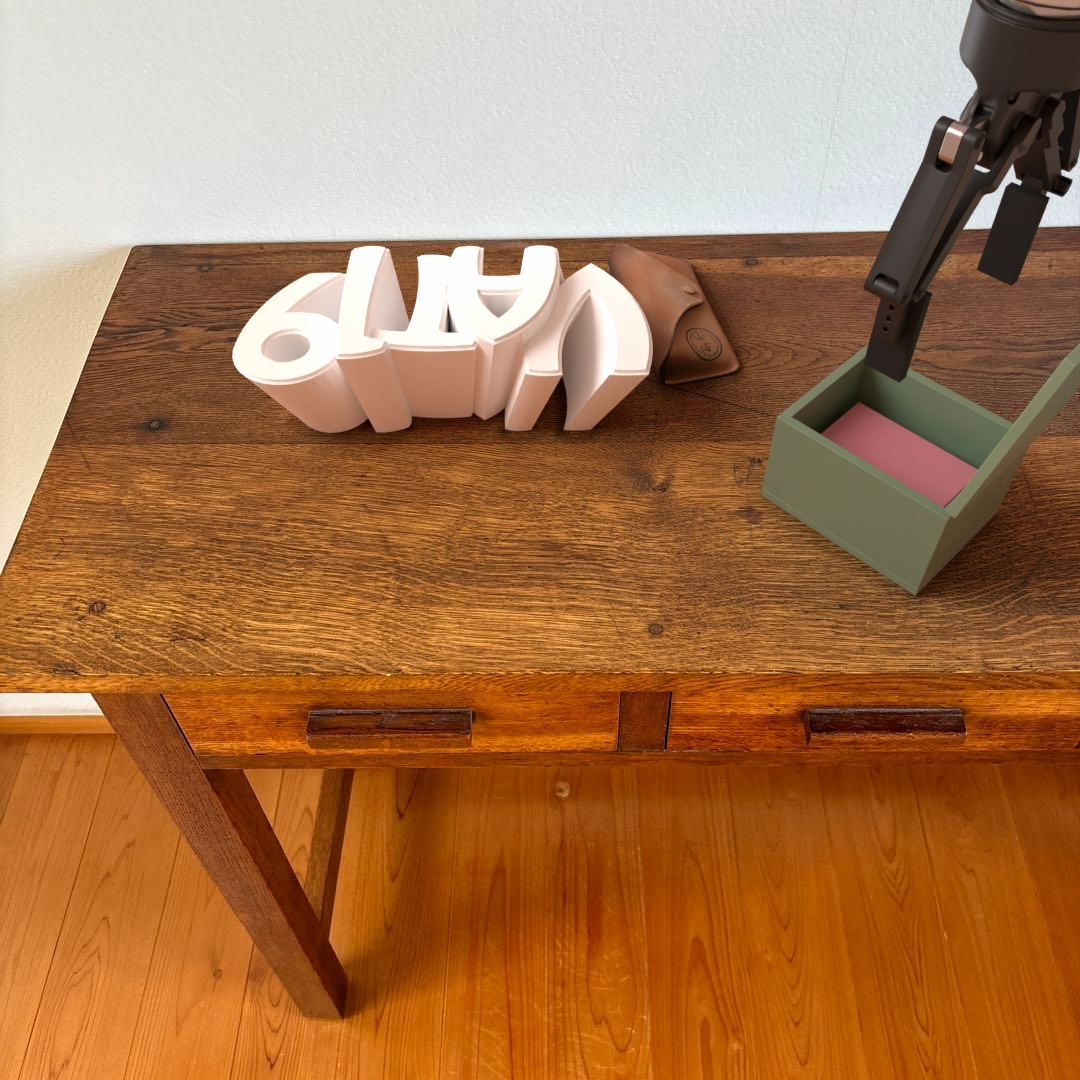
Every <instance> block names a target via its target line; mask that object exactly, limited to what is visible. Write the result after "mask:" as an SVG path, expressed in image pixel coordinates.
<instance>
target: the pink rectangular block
mask: <svg viewBox="0 0 1080 1080" xmlns="http://www.w3.org/2000/svg"><path fill="white" fill-rule="evenodd" d="M821 435H823V436H824V437H826V438H828V439H829V440H831V441H833V442H834V443H836V444H838V445H839V446H841V447H843V448H844V449H846V450H848V451H849V452H851V453H853V454H854V455H856V456H858V457H859V458H861V459H863V460H864V461H866V462H868V463H869V464H871V465H873V466H874V467H876V468H878V469H879V470H881V471H883V472H885V473H886V474H888V475H890V476H891V477H893V478H895V479H896V480H898V481H900V482H901V483H903V484H905V485H906V486H908V487H910V488H911V489H913V490H915V491H916V492H918V493H920V494H921V495H923V496H925V497H926V498H928V499H930V500H931V501H933V502H935V503H936V504H938V505H940V506H941V507H943V508H945V507H946V506H947V505H948V504H949V503H950V502H951V501H952V500H953V499H954V498H955V497H956V496H957V495H958V494H959V493H960V492H961V491H962V490H963V489H964V487H965V486H966V485H967V484H968V482H969V481H970V480H971V478H972V477H973V476H974V475H975V473H976V472H977V471H978V469H976V468H974V467H972V466H971V465H969V464H967V463H965V462H964V461H962V460H960V459H958V458H957V457H955V456H953V455H951V454H949V453H948V452H946V451H944V450H942V449H941V448H939V447H937V446H935V445H934V444H932V443H930V442H928V441H927V440H925V439H923V438H921V437H920V436H918V435H916V434H914V433H913V432H911V431H909V430H907V429H906V428H904V427H902V426H900V425H898V424H897V423H895V422H893V421H891V420H890V419H888V418H886V417H884V416H883V415H881V414H879V413H877V412H876V411H874V410H872V409H870V408H869V407H867V406H865V405H863V404H862V403H860V402H859V403H857V404H856V405H855V406H854V407H853V408H851V409H850V410H849V411H848V412H847V413H845V414H844V415H843V416H842V417H841V418H839V419H838V420H837V421H836V422H835V423H833V424H832V425H831V426H830V427H829V428H827V429H826V430H825V431H824V432H823V433H821Z"/></svg>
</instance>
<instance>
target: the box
mask: <svg viewBox="0 0 1080 1080" xmlns="http://www.w3.org/2000/svg"><path fill="white" fill-rule="evenodd" d="M867 348H868V345H867V344H866V345H864V346H863V347H862V348H861V349H859V350H858V351H857V352H856V353H855V354H854V355H852V356H851V357H850V358H848V359H847V360H846V361H844V362H843V363H842V364H841V365H839V366H838V367H837V368H836V369H835V370H834V371H832V372H831V373H830V374H828V375H827V376H826V377H825V378H824V379H822V380H821V381H820V382H818V383H817V384H816V385H814V387H811V389H810V390H808V391H807V392H806V393H805V394H804V395H802V396H801V397H800V398H798V399H797V400H796V401H795V402H794V403H792V404H791V405H790V406H789V407H787V408H786V409H785V410H783V412H781V413H780V414H779V415H777V416H776V420H775V425H774V429H773V435H772V439H771V444H770V449H769V453H768V460H767V464H766V468H765V473H764V477H763V483H762V486H761V492H760V496H762V497H763V498H765V499H766V500H768V501H769V502H770V503H772V504H774V505H775V506H776V507H778V508H780V509H782V510H783V511H784V512H786V513H788V514H789V515H791V516H792V517H794V518H795V519H796V520H798V521H800V522H801V523H803V524H805V526H807V527H809V528H810V529H812V530H813V531H814V532H817V533H818V534H819V535H821V536H823V537H824V538H826V539H827V540H829V541H831V542H832V543H834V544H835V545H836V546H837V547H840V548H841V549H842V550H843V551H845V552H847V553H849V554H850V555H851V556H853V557H855V558H857V559H858V560H859V561H861V562H863V563H864V564H865V565H867V566H868V567H870V568H872V569H873V570H874V571H876V572H877V573H880V574H881V575H882V576H884V577H885V578H887V579H888V580H890V581H891V582H893V583H895V584H896V585H898V587H901V588H902V589H903V590H905V591H907V592H909V593H910V594H911V595H913V596H917V595H918V594H919V593H920V592H921V591H922V590H923V589H924V588H925V587H926V586H927V585H928V584H929V583H930V582H931V581H932V580H933V579H934V578H935V577H936V575H938V573H939V572H940V571H942V570H943V569H944V568H945V566H946V565H947V564H948V563H950V561H951V560H952V559H954V557H955V556H957V554H958V553H959V552H960V551H961V550H962V549H964V547H965V546H966V545H968V543H969V542H970V541H971V540H972V539H973V538H974V537H975V536H976V535H977V534H978V533H979V532H980V531H981V529H983V528H984V526H986V525H987V524H988V523H989V521H991V519H993V517H994V516H996V515H997V513H998V511H999V509H1000V507H1001V505H1002V503H1003V501H1004V500H1005V499H1004V498H1005V496H1006V494H1007V493H1008V491H1009V488H1010V486H1011V485H1012V482H1013V480H1014V479H1015V476H1016V474H1017V472H1018V470H1019V467H1020V466H1021V464H1022V461H1023V460H1024V457H1025V455H1026V453H1027V451H1028V449H1029V447H1030V445H1029V446H1028V447H1027V448H1026V449H1025V450H1024V451H1023V452H1022V453H1021V454H1020V455H1019V456H1018V457H1017V458H1016V459H1015V460H1014V461H1013V462H1012V463H1011V464H1010V465H1009V466H1008V467H1007V468H1006V469H1005V470H1004V471H1003V472H1002V473H1001V474H1000V475H999V476H998V477H997V478H996V479H995V480H994V481H993V482H992V483H991V484H990V485H989V486H988V487H987V488H986V489H985V490H984V491H983V492H982V493H981V494H980V495H979V496H978V497H977V498H976V499H975V500H974V501H973V502H972V503H971V504H970V505H969V506H968V507H967V508H966V509H965V510H964V511H963V512H962V513H961V514H960V515H959V516H958V517H957V518H953V517H952V516H951V515H949V514H948V513H947V512H946V511H947V509H948V508H949V507H950V506H951V504H952V503H953V502H954V500H955V499H956V498H957V497H958V495H959V494H960V493H961V492H960V493H959V494H958V495H957V496H956V497H955V498H954V499H953V500H952V501H951V502H950V503H949V504H948V505H947V506H946V507H945V508H943V507H941V506H940V505H938V504H936V503H935V502H933V501H931V500H930V499H928V498H926V497H925V496H923V495H921V494H920V493H918V492H916V491H915V490H913V489H911V488H910V487H908V486H906V485H905V484H903V483H901V482H900V481H898V480H896V479H895V478H893V477H891V476H890V475H888V474H886V473H885V472H883V471H881V470H879V469H878V468H876V467H874V466H873V465H871V464H869V463H868V462H866V461H864V460H863V459H861V458H859V457H858V456H856V455H854V454H853V453H851V452H849V451H848V450H846V449H844V448H843V447H841V446H839V445H838V444H836V443H834V442H833V441H831V440H829V439H828V438H826V437H824V436H823V435H821V433H823V432H824V431H825V430H826V429H827V428H829V427H830V426H831V425H832V424H833V423H835V422H836V421H837V420H838V419H839V418H841V417H842V416H843V415H844V414H845V413H847V412H848V411H849V410H850V409H851V408H853V407H854V406H855V405H856V404H857V403H859V402H860V403H862V404H863V405H865V406H867V407H869V408H870V409H872V410H874V411H876V412H877V413H879V414H881V415H883V416H884V417H886V418H888V419H890V420H891V421H893V422H895V423H897V424H898V425H900V426H902V427H904V428H906V429H907V430H909V431H911V432H913V433H914V434H916V435H918V436H920V437H921V438H923V439H925V440H927V441H928V442H930V443H932V444H934V445H935V446H937V447H939V448H941V449H942V450H944V451H946V452H948V453H949V454H951V455H953V456H955V457H957V458H958V459H960V460H962V461H964V462H965V463H967V464H969V465H971V466H972V467H974V468H976V469H979V468H980V467H981V465H982V464H983V463H984V462H985V460H986V459H987V458H988V456H989V455H990V454H991V453H992V451H993V450H994V449H995V447H996V446H997V445H998V443H999V442H1000V441H1001V440H1002V438H1003V437H1004V436H1005V434H1006V433H1007V432H1008V431H1009V429H1010V428H1011V427H1012V425H1013V424H1014V423H1013V422H1012V421H1009V420H1008V419H1006V418H1004V417H1002V416H1000V415H998V414H996V413H994V412H993V411H990V410H989V409H987V408H985V407H983V406H981V405H979V404H977V403H976V402H974V401H972V400H970V399H969V398H966V397H964V396H963V395H961V394H960V393H957V392H955V391H953V390H952V389H950V388H948V387H946V386H944V385H942V384H940V383H939V382H936V381H934V380H933V379H931V378H929V377H927V376H925V375H923V374H922V373H919V372H917V371H916V370H914V369H913V368H910V367H909V369H908V372H907V375H906V377H905V378H904V379H903V380H902V381H901V382H900V383H899V382H897V381H895V380H893V379H891V378H889V377H888V376H886V375H884V374H882V373H880V372H878V371H876V370H875V369H873V368H871V367H869V366H867V365H865V364H863V363H864V359H865V355H866V351H867Z"/></svg>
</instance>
